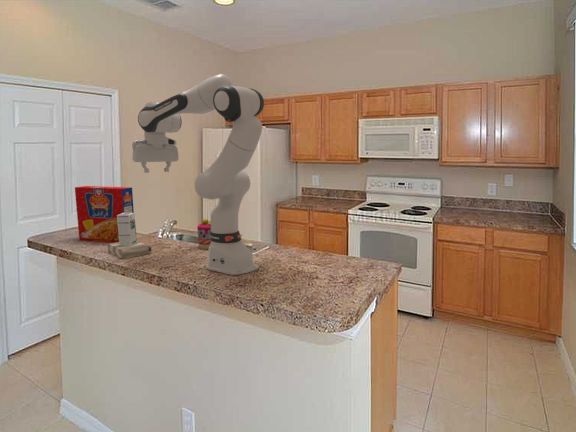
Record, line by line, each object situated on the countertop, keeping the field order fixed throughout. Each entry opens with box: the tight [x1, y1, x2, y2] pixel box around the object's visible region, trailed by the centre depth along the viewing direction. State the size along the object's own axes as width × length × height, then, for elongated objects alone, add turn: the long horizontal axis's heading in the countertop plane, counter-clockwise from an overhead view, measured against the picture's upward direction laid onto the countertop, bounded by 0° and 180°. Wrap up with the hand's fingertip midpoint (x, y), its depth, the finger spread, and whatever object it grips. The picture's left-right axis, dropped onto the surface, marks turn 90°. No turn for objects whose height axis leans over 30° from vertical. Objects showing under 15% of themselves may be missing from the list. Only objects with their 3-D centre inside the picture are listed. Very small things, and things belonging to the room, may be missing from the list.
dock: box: [107, 240, 152, 260], centre depth 177 cm, size 16×13×4 cm
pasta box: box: [74, 185, 135, 244], centre depth 199 cm, size 28×8×28 cm, turn 75°
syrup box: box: [117, 212, 138, 246], centre depth 175 cm, size 6×6×14 cm
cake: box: [197, 218, 211, 250], centre depth 188 cm, size 10×11×15 cm
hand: (156, 172), depth 172 cm, fingers open, 8 cm apart
